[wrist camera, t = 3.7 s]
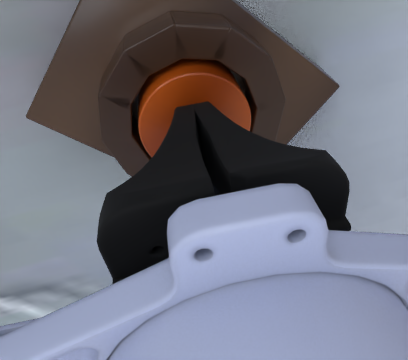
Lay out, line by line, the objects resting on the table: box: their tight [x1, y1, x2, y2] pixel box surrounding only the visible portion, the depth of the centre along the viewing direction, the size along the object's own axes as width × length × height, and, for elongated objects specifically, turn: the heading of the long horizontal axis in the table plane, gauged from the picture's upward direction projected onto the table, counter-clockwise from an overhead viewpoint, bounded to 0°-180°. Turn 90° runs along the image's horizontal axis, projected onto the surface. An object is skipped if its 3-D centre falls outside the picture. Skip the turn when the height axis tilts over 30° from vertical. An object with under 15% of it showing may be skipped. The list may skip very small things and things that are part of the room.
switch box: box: [26, 0, 339, 176], centre depth 16 cm, size 11×8×4 cm
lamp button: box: [138, 59, 251, 157], centre depth 15 cm, size 4×4×2 cm
